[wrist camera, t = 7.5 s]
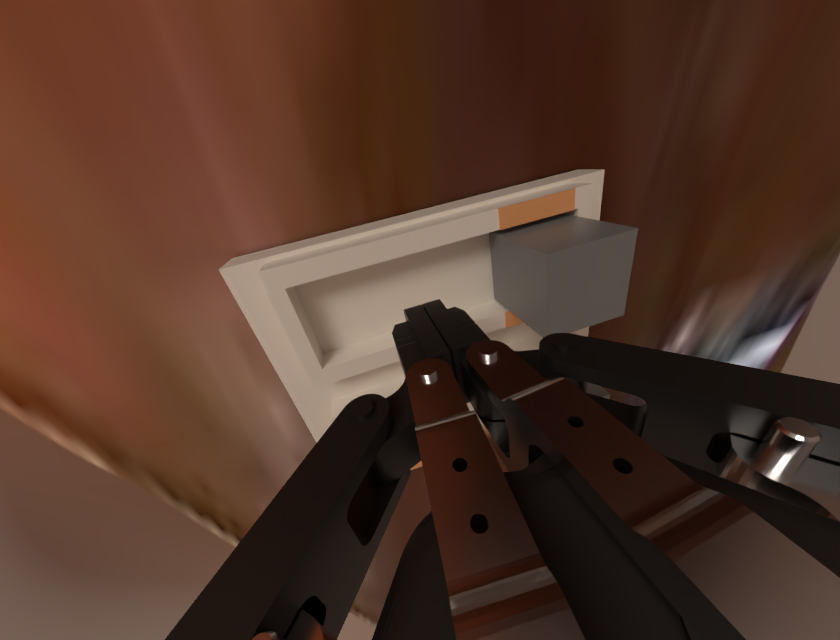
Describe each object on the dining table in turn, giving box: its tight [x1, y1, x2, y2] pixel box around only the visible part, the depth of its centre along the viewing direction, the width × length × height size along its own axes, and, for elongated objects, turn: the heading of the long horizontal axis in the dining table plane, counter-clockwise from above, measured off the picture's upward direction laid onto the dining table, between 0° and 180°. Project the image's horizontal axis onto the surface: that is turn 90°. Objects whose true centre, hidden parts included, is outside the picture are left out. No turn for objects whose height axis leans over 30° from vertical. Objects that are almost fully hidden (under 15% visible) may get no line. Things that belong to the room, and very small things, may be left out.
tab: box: [489, 213, 638, 338], centre depth 15 cm, size 4×4×5 cm
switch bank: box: [219, 170, 604, 470], centre depth 19 cm, size 16×20×4 cm
